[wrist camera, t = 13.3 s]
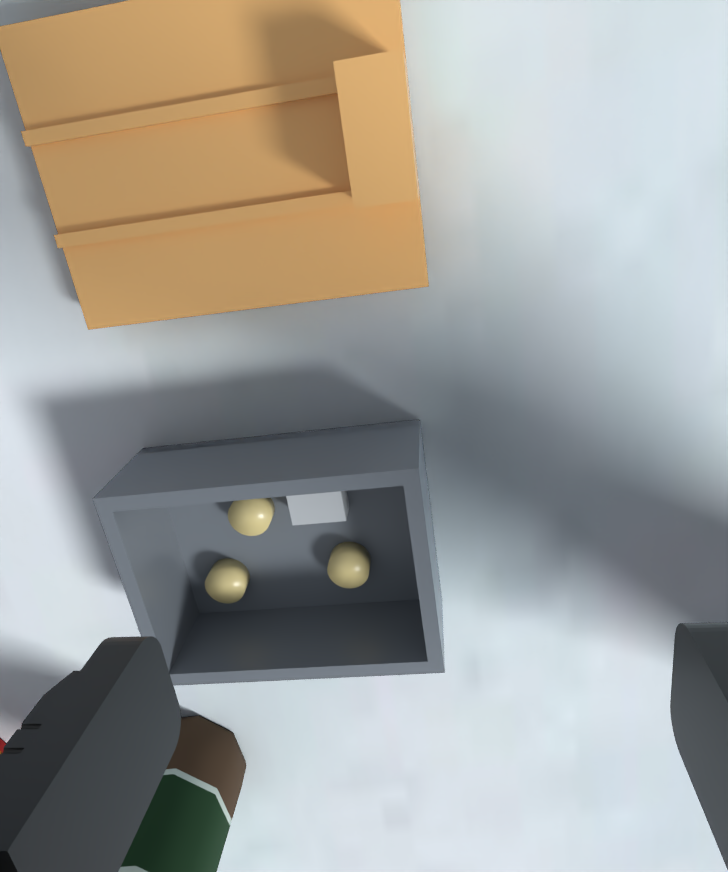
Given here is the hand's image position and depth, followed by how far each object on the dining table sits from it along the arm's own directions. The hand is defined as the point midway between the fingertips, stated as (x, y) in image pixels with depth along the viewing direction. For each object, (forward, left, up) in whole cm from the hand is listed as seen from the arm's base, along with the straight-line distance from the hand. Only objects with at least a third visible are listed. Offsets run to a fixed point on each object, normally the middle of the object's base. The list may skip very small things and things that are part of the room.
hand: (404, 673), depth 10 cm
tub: (+9, +11, -24) cm, 28 cm away
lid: (+8, -9, -25) cm, 27 cm away
